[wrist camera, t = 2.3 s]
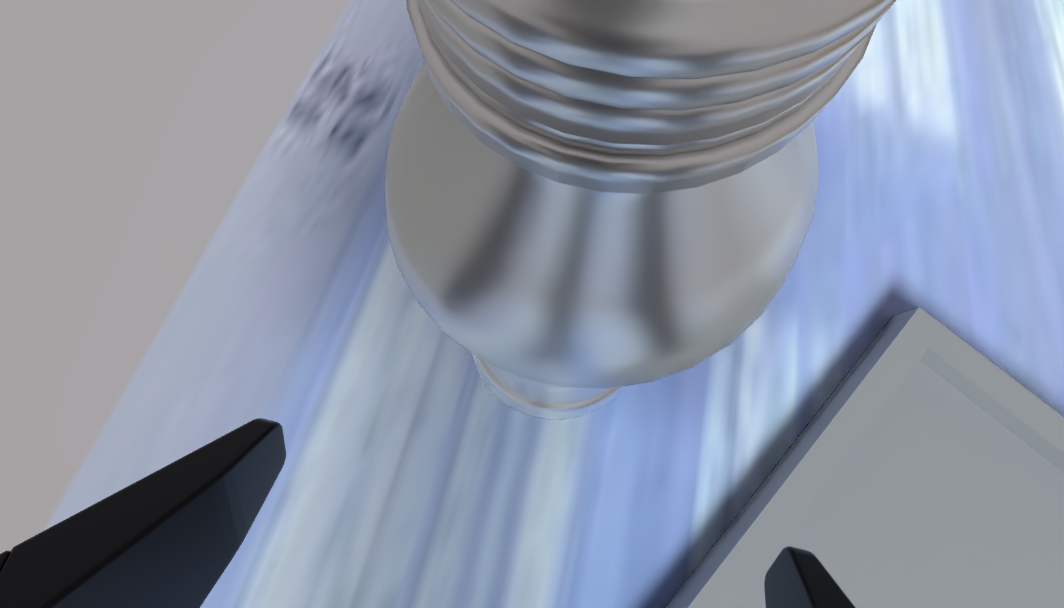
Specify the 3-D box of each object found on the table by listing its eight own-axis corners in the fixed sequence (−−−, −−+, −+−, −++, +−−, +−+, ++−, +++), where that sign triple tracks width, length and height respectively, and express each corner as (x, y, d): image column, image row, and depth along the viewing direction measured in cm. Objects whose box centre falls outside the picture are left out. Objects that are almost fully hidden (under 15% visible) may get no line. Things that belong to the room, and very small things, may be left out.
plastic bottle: (454, 311, 23) (-27, -411, 3) (591, 249, 23) (866, -656, 4) (515, 448, 21) (288, 606, 2) (659, 378, 22) (1624, -47, 2)
